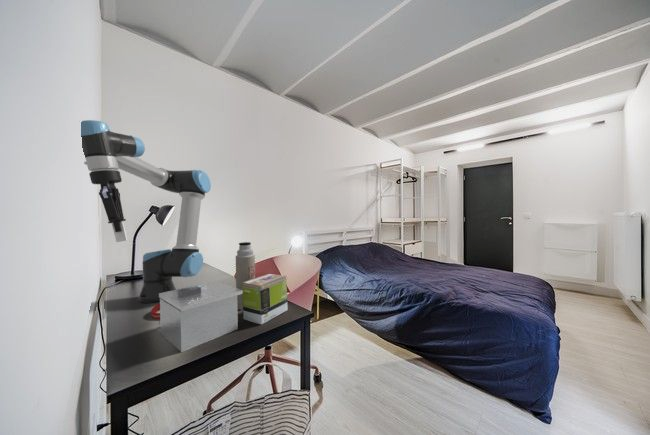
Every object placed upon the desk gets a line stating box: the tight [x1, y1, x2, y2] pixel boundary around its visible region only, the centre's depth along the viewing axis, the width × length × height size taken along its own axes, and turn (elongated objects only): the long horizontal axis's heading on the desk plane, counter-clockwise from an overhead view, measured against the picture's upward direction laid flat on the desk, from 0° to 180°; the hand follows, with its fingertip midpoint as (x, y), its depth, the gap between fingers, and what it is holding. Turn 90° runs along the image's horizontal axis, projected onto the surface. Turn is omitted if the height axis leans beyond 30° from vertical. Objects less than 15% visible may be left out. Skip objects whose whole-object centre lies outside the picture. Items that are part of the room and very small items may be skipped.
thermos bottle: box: [235, 241, 256, 311], centre depth 105 cm, size 8×8×28 cm
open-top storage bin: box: [159, 295, 239, 353], centre depth 83 cm, size 18×18×12 cm
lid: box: [159, 280, 243, 311], centre depth 83 cm, size 20×20×3 cm
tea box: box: [242, 273, 288, 325], centre depth 95 cm, size 15×10×15 cm, turn 149°
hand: (122, 240), depth 82 cm, fingers closed
